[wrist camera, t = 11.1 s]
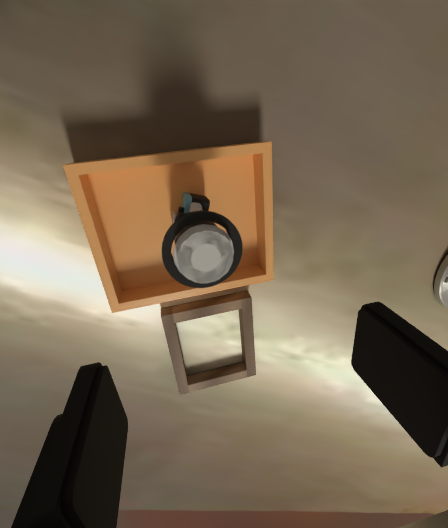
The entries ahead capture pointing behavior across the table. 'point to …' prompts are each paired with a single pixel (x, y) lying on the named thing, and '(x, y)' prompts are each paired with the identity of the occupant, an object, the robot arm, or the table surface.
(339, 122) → the table surface
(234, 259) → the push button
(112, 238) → the parts tray
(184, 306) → the component holder
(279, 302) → the table surface
